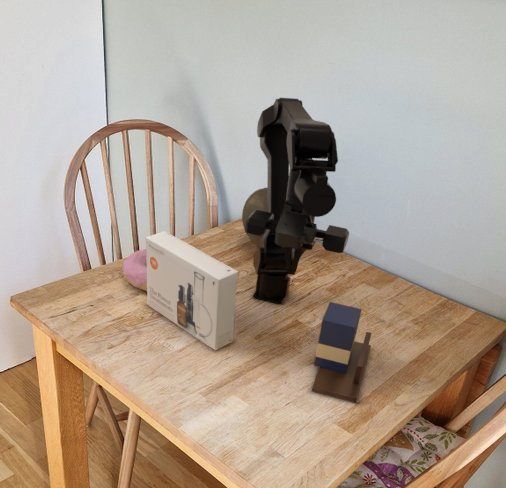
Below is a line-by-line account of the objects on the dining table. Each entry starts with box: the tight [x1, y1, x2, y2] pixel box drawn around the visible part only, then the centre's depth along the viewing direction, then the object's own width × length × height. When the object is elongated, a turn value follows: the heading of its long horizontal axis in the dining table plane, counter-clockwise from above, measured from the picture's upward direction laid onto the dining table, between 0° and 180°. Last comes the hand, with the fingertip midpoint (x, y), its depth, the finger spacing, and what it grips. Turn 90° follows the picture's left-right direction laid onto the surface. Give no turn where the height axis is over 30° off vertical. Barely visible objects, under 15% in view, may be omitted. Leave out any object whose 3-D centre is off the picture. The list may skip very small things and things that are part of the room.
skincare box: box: [145, 230, 239, 351], centre depth 119 cm, size 21×5×16 cm, turn 46°
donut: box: [121, 248, 147, 292], centre depth 136 cm, size 16×15×5 cm
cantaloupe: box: [241, 187, 268, 248], centre depth 154 cm, size 14×14×15 cm
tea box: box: [313, 301, 362, 373], centre depth 114 cm, size 10×7×6 cm
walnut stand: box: [311, 331, 372, 404], centre depth 114 cm, size 8×18×5 cm, turn 163°
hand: (291, 271), depth 119 cm, fingers closed
